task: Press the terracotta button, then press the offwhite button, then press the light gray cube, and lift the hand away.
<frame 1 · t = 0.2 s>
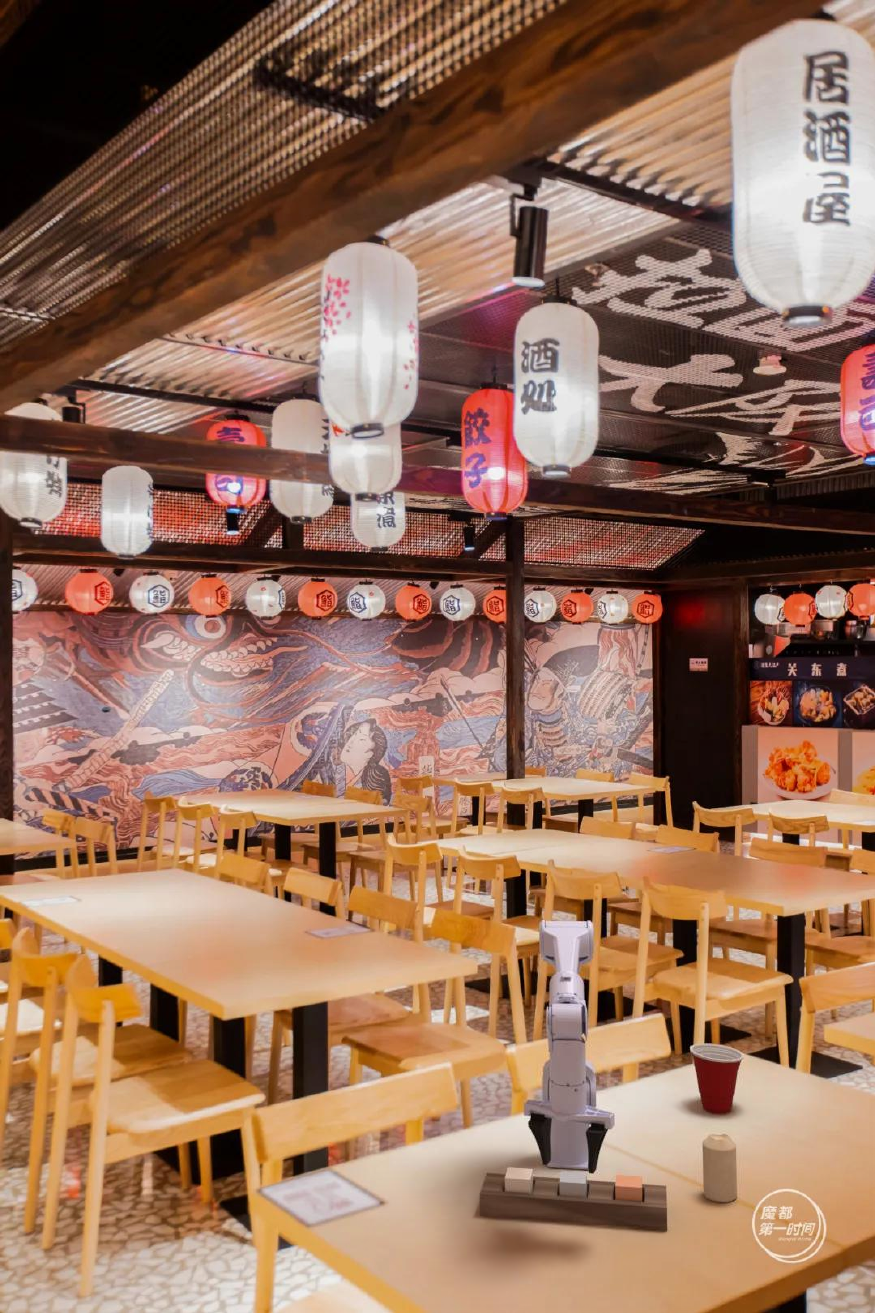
hand: (569, 1167, 173), 10 cm above the table, tool pointing down, fingers open, 7 cm apart
offwhite button: (519, 1184, 180), point 4 cm above the table, slide at 0.0 cm
light gray cube: (573, 1188, 179), point 4 cm above the table, slide at 0.0 cm
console: (573, 1211, 178), on the table
candle: (720, 1196, 184), on the table
plastic cup: (718, 1110, 222), on the table
terracotta button: (628, 1192, 177), point 4 cm above the table, slide at 0.0 cm
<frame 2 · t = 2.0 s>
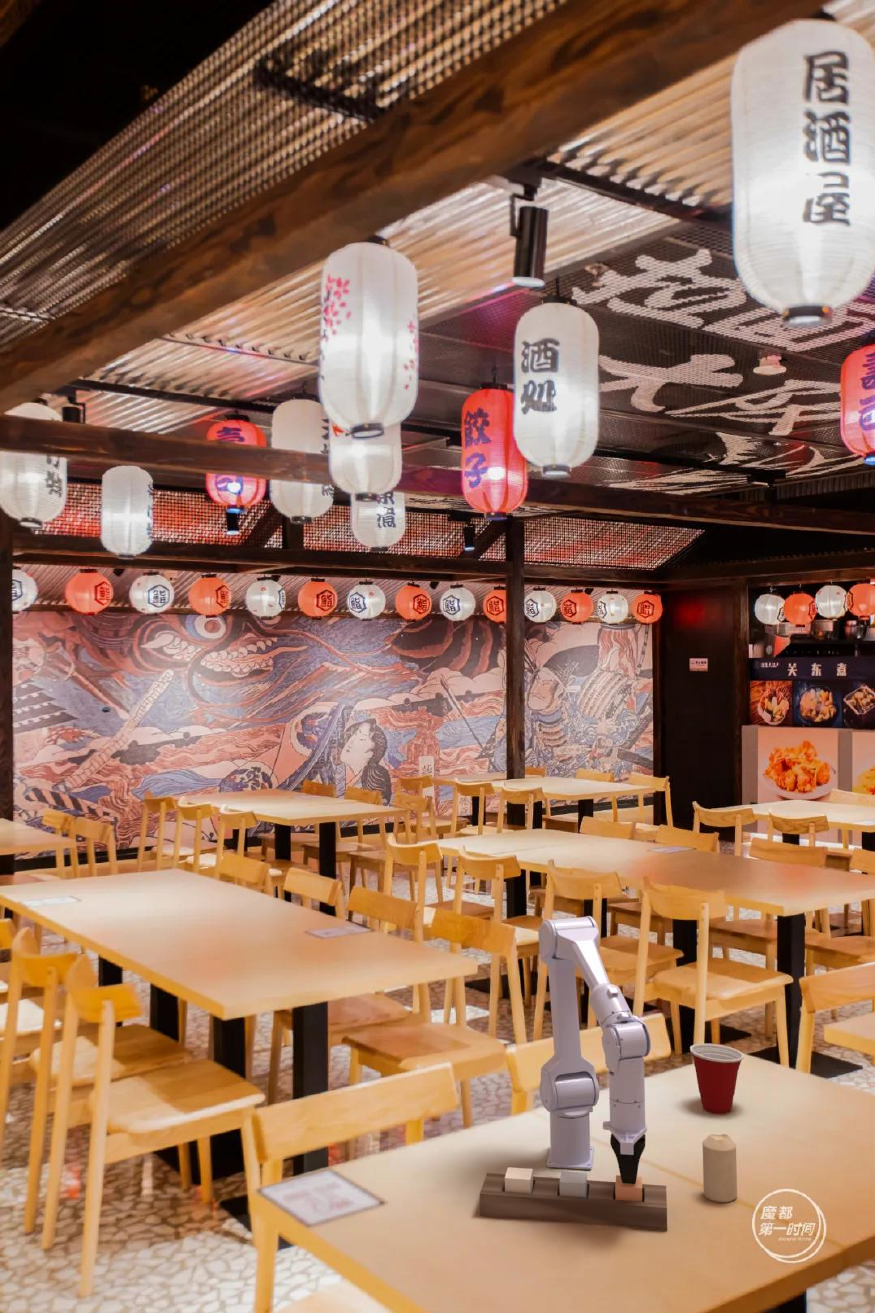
hand: (628, 1182, 177), 5 cm above the table, tool pointing down, fingers closed, pressing on terracotta button
terracotta button: (628, 1192, 177), point 4 cm above the table, slide at 0.1 cm, touching gripper
everything else where it was.
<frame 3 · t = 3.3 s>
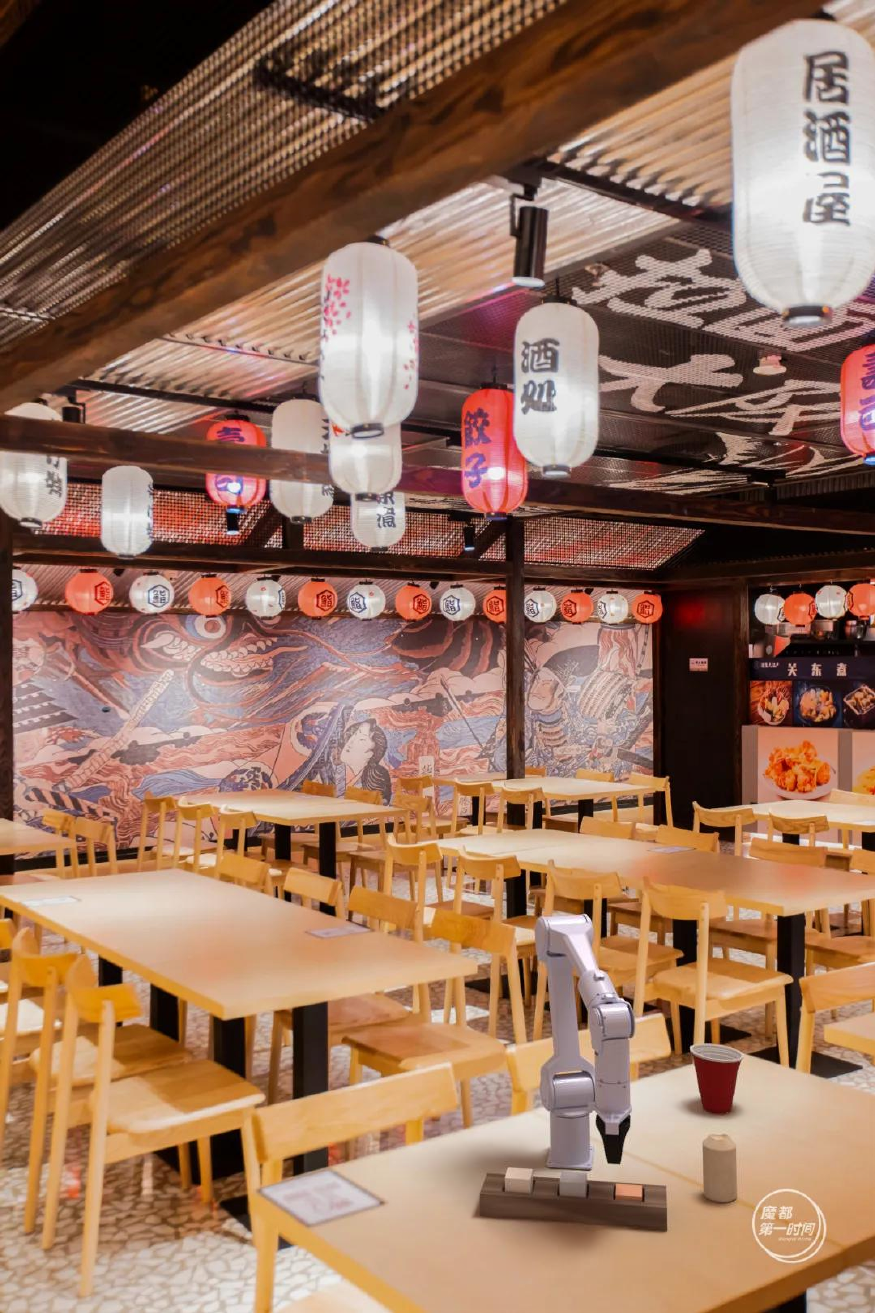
hand: (613, 1162, 178), 8 cm above the table, tool pointing down, fingers closed
terracotta button: (629, 1201, 177), point 2 cm above the table, slide at 1.4 cm
everything else where it was.
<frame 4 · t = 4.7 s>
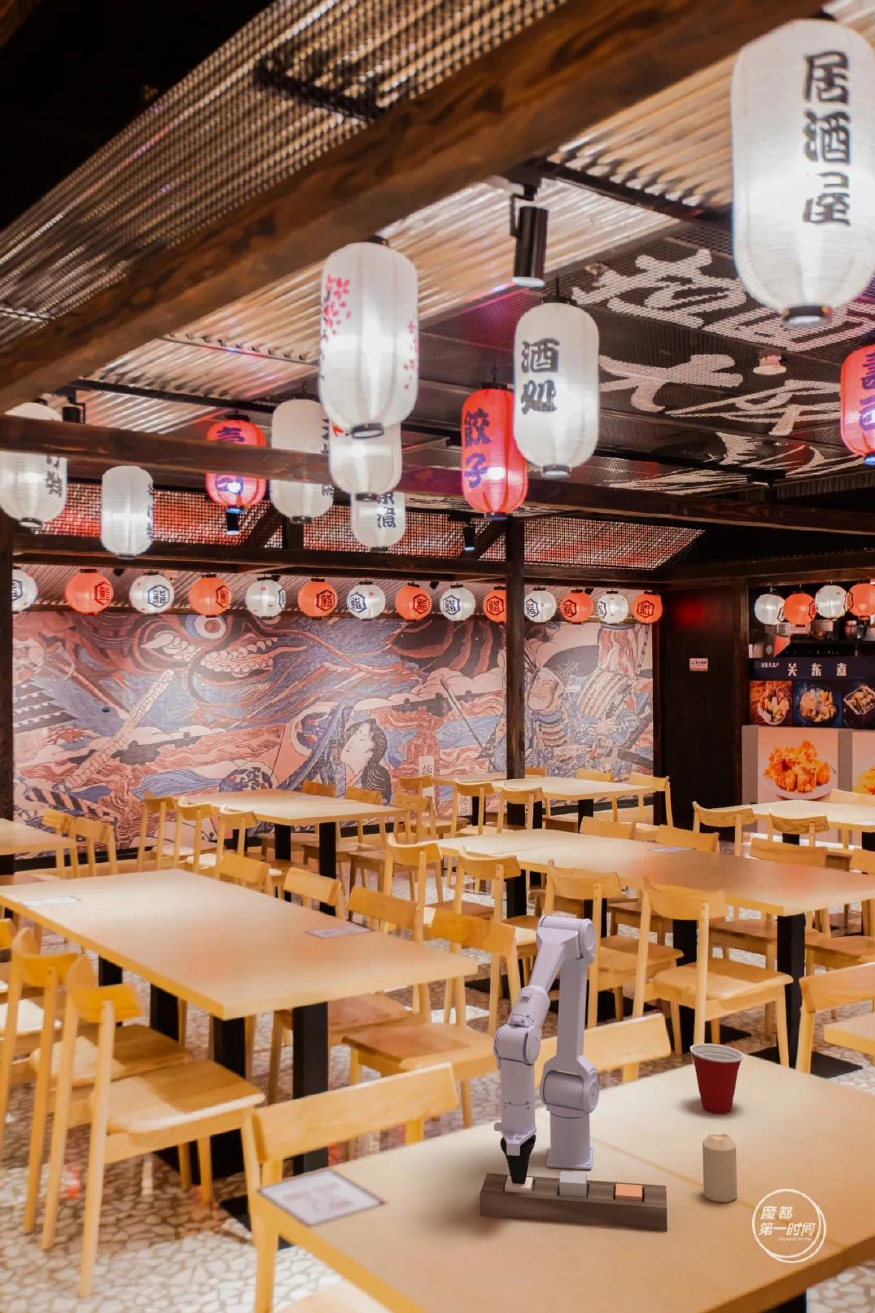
hand: (518, 1182, 180), 4 cm above the table, tool pointing down, fingers closed, pressing on offwhite button
offwhite button: (519, 1192, 180), point 2 cm above the table, slide at 1.4 cm, touching gripper
everything else where it was.
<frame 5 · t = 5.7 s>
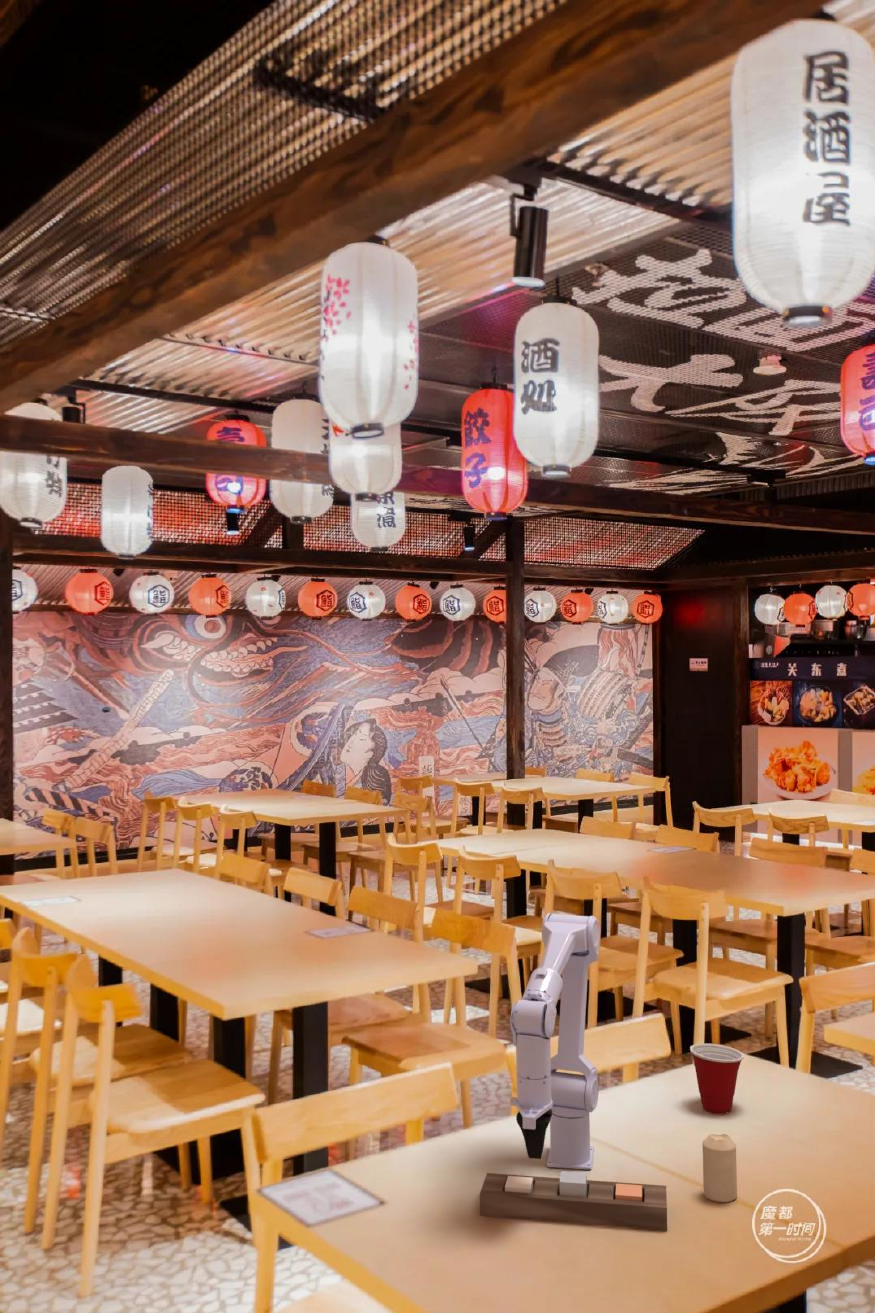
hand: (535, 1157, 180), 8 cm above the table, tool pointing down, fingers closed
offwhite button: (519, 1193, 180), point 2 cm above the table, slide at 1.4 cm
everything else where it was.
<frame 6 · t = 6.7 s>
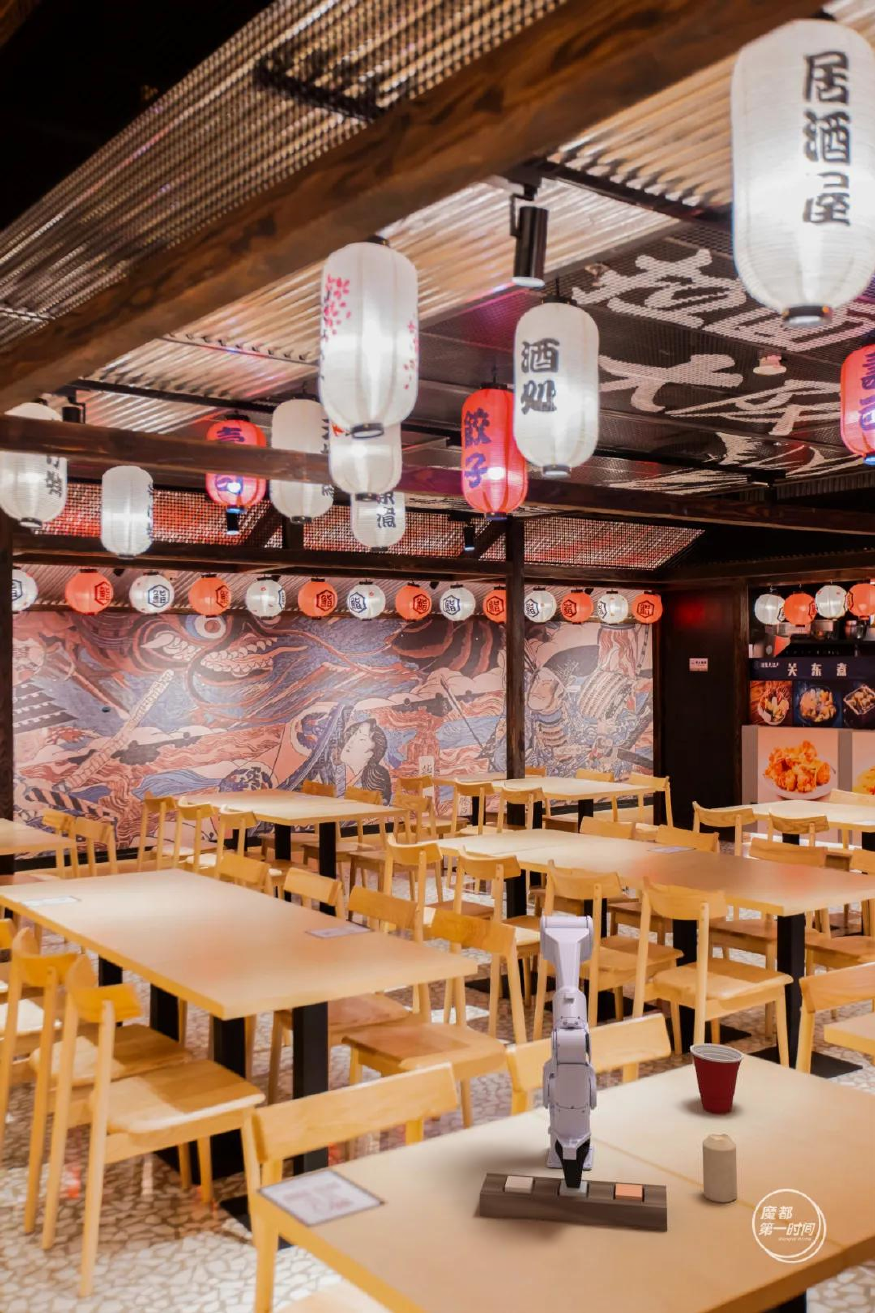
hand: (573, 1186, 179), 4 cm above the table, tool pointing down, fingers closed, pressing on light gray cube
light gray cube: (573, 1197, 179), point 2 cm above the table, slide at 1.4 cm, touching gripper
everything else where it was.
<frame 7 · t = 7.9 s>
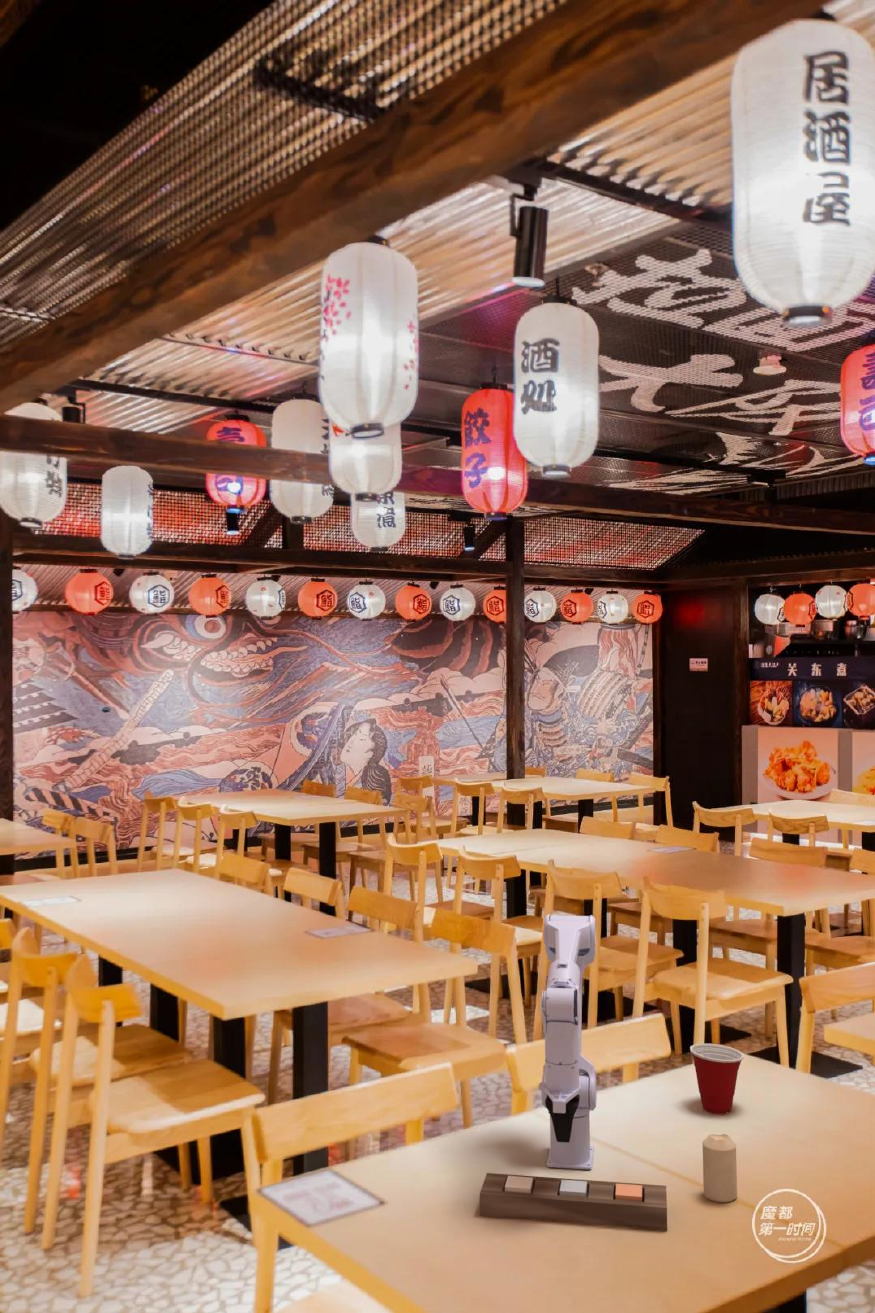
hand: (563, 1140, 184), 9 cm above the table, tool pointing down, fingers closed
light gray cube: (573, 1197, 179), point 2 cm above the table, slide at 1.4 cm
everything else where it was.
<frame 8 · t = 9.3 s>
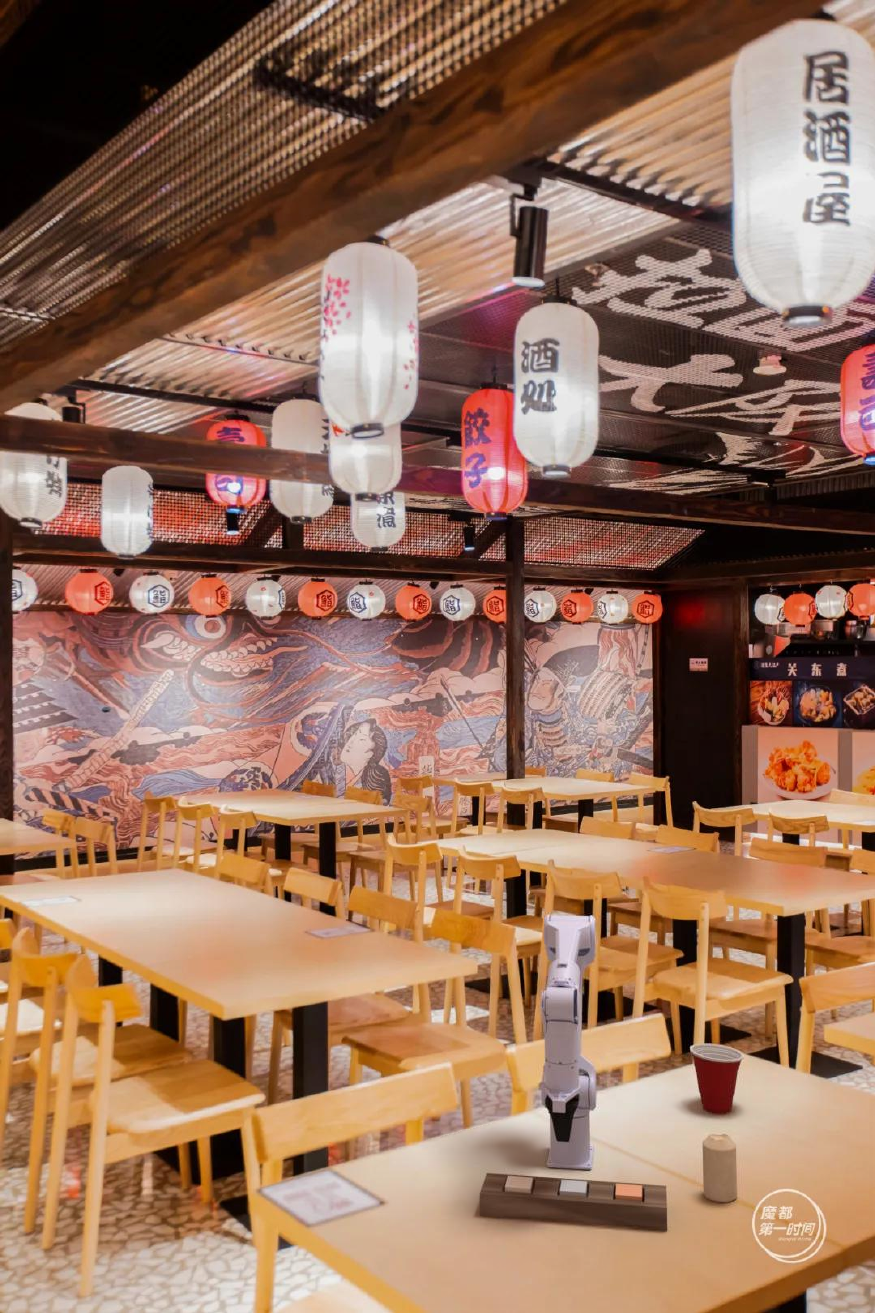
hand: (563, 1140, 184), 9 cm above the table, tool pointing down, fingers closed
nothing on the table moved.
at the end: terracotta button slide at 1.4 cm; offwhite button slide at 1.4 cm; light gray cube slide at 1.4 cm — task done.
